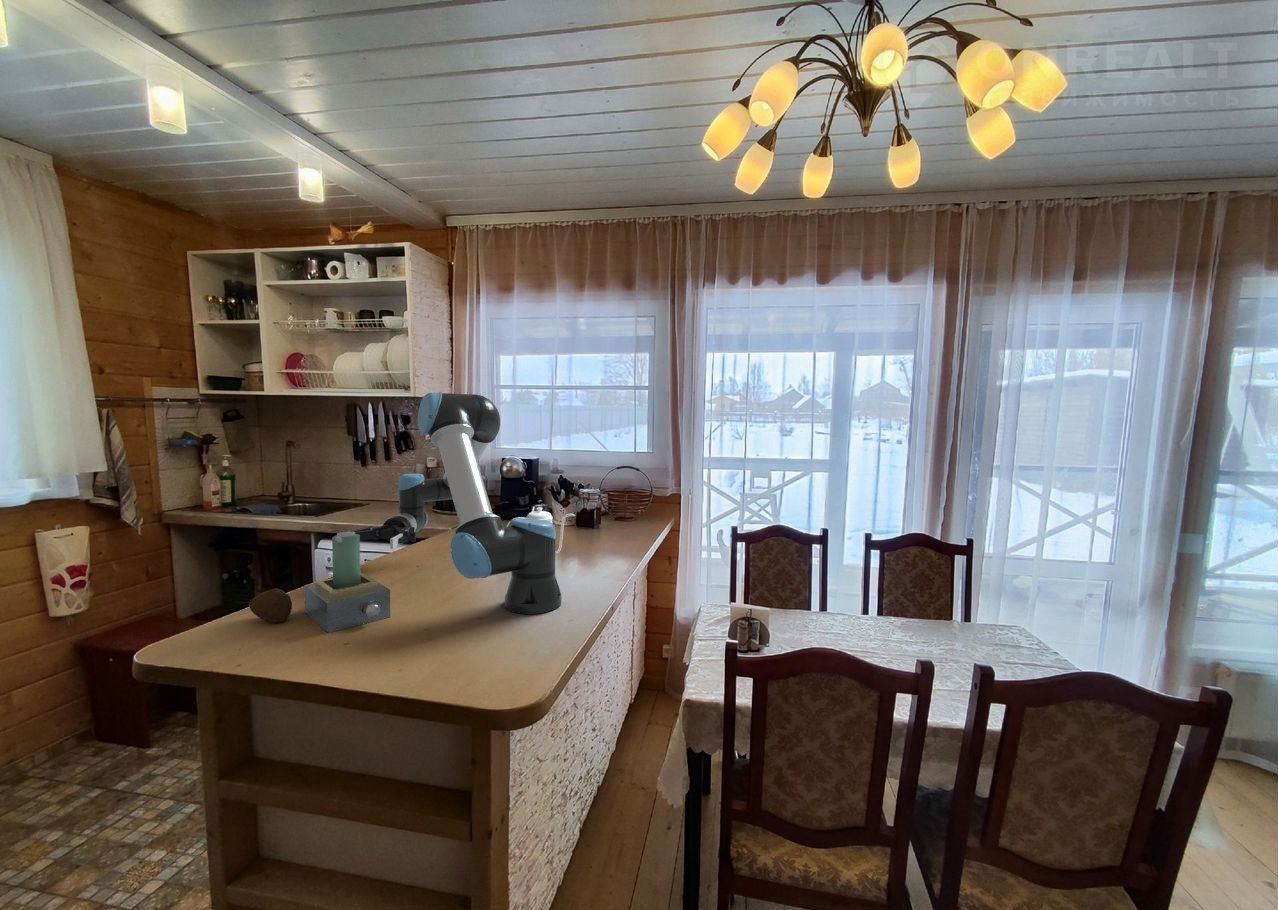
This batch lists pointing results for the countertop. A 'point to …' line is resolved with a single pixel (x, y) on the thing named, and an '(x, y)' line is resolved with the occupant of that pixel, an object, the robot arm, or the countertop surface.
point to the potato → (272, 605)
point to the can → (346, 559)
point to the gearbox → (346, 603)
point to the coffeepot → (546, 517)
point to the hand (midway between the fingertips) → (365, 543)
